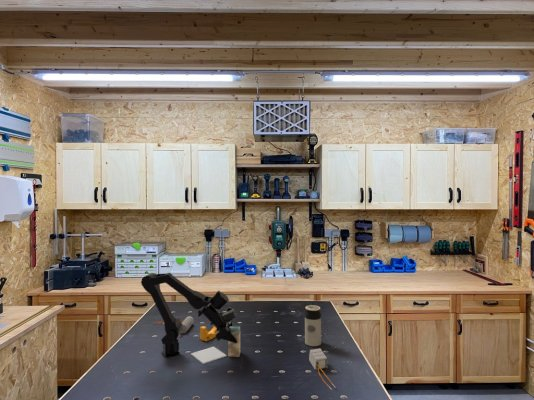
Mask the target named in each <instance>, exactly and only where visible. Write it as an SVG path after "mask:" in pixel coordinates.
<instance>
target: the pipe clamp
mask: <svg viewBox="0 0 534 400" xmlns="http://www.w3.org/2000/svg"><path fill="white" fill-rule="evenodd" d="M199 327H200V328H199V335H200V336H199V337H200V339H199V340H201V341H204V342H208V341H210V340H212V339H216V338H215V335H216V333H217V332H218V331H217V328H216V327H215V326H214V325H213V327H212V328H211V329H210V330H209V331H208V328H207V327H206V326H204V325H203V326H199Z"/></svg>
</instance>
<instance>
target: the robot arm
mask: <svg viewBox="0 0 534 400" xmlns="http://www.w3.org/2000/svg"><path fill="white" fill-rule="evenodd" d="M140 284H141V286H142V288H143V289H144V290H145V291H146V292H147V293H148V294H149V295H150V296H151V298H152V300H153V302H154V304H155V307H156V308H157V310H158V312H159V314H160V316H161V319H162V321H164V322H163V325H164V326H163V327H164V332H165V334H164V336H163V337H162V338H161V340H160V341H161V343H162V351H161V352H160V353H161V354H162V355H163V356H164V357H165V358H170V357H173V356H177V355H179V354H180V342H179V339H178V337H179V336H180V335H181V334H182V333H181V332H182V329H183V328H182V325H183V324H182V322H180V320H181V319H180V317H178V318H176V317H175V316H174V315H173V313H172V311H171V310H170V306H169V305H168V303H167V301H166V299H165V297H164V295H163V293H162V291H161V284H167V285H168V286H169V287H170V288H171V289H173V290H174V291H176V292H178V293H179V294H180V295H182V296H183V297H184V298H185V300H186V301H187V302H188V304H189V306H191V307H192V308H193V309H195V310H198V311H197V313H198V315H197V316H198V317H199V318H200V317H201V316H204V317H205V318H206V320H208V321H209V325H210V326H213V327H214V326H215V327H216V328H217V331H218V332H217V333H216V335H215V338H214V339H216V340H217V341H218V342H220V341H221V340H224V341H227V342H228V341H230V342H233V343H237V340H236V338H235V337H234V336H233V334H232V333H231V328H229V327H230V326H234V319H235V318H236V316H237V313H236V310H235V309H234V308H233V307H231V306H229V307H227V311H225V312H224V313H223V311H218V310H221V309H222V308H224V306H226V305H227V304H228V303H229V302H230V299H229V297H228V296H227V294H225V293H223V292H221V291H220V290H217V292H215V294H214V295H213V296H208V295H205V294H204V293H201V292H200V291H197V290H194V289H192V288H191V287H189V286H188V285H186V284H185V283H184V282H182V281H181V279H178V278H177V277H175V276H174V275H173V273H171V272H166V273H154V272H151V273H148V274H145V276H143V277H142V278H141V281H140Z"/></svg>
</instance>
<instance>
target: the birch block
mask: <svg viewBox="0 0 534 400" xmlns="http://www.w3.org/2000/svg"><path fill="white" fill-rule="evenodd" d="M229 328H231V333H232V334H233V336H234V337H235V338H236V340H237V343H233V342H230V341H227V342H228V344H227V345H228V348H227V349H228V350H227V351H228V353H227V356H228V357H231V358H232V357H233V358H235V357H236V358H237V357H240V355H241V326H240V325H239V326H234V325H233V326H230V327H229Z"/></svg>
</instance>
